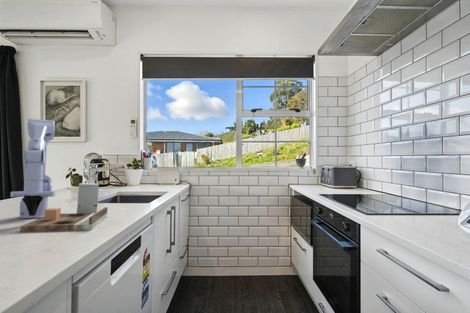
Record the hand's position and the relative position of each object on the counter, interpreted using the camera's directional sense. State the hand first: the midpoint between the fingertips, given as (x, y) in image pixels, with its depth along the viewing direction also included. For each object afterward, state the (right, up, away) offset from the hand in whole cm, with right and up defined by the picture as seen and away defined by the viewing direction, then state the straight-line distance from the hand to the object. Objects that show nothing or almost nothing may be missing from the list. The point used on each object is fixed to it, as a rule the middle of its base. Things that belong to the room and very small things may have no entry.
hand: (32, 215), depth 103 cm
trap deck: (+13, -4, +3) cm, 14 cm away
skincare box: (+11, -5, +19) cm, 22 cm away
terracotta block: (+7, -2, +2) cm, 7 cm away
